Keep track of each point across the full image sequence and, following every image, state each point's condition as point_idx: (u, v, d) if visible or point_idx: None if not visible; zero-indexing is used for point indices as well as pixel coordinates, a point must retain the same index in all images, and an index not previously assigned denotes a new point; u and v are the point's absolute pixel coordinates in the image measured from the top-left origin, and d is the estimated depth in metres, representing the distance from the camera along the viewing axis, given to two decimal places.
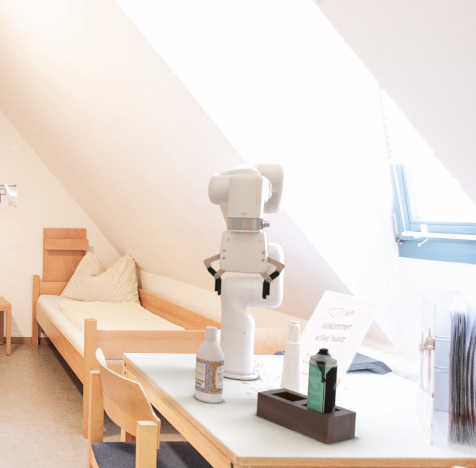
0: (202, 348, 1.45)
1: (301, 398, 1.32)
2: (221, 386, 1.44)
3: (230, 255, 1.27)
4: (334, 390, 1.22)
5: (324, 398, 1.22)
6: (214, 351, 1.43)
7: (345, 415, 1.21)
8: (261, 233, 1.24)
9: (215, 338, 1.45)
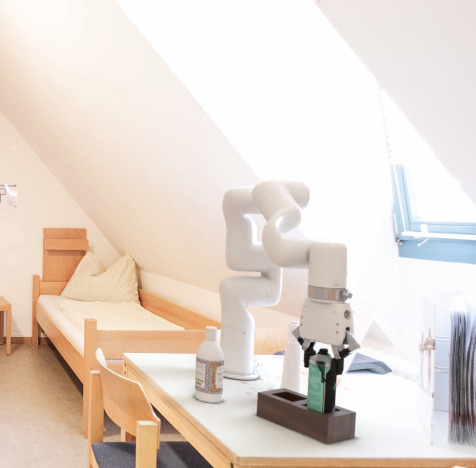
0: (202, 348, 1.45)
1: (301, 398, 1.32)
2: (221, 386, 1.44)
3: (307, 323, 1.26)
4: (334, 390, 1.22)
5: (324, 398, 1.22)
6: (214, 351, 1.43)
7: (345, 415, 1.21)
8: (336, 304, 1.20)
9: (215, 338, 1.45)
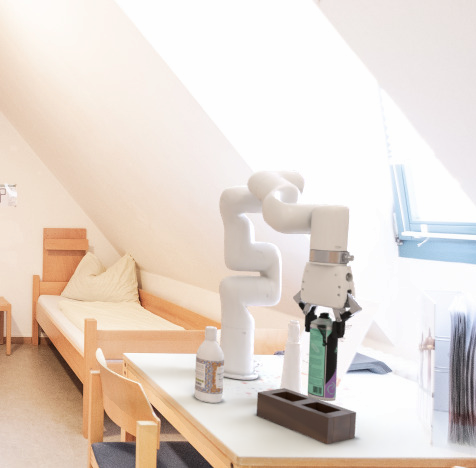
0: (202, 348, 1.45)
1: (301, 398, 1.32)
2: (221, 386, 1.44)
3: (308, 287, 1.26)
4: (335, 353, 1.22)
5: (325, 361, 1.22)
6: (214, 351, 1.43)
7: (345, 415, 1.21)
8: (338, 267, 1.20)
9: (215, 338, 1.45)
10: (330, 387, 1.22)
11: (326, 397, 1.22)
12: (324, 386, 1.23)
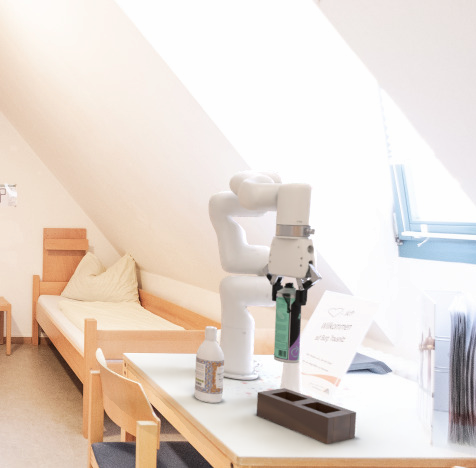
0: (202, 348, 1.45)
1: (301, 398, 1.32)
2: (221, 386, 1.44)
3: (274, 259, 1.36)
4: (299, 320, 1.33)
5: (289, 327, 1.33)
6: (214, 351, 1.43)
7: (345, 415, 1.21)
8: (300, 240, 1.30)
9: (215, 338, 1.45)
10: (293, 350, 1.33)
11: (290, 360, 1.33)
12: (288, 350, 1.33)
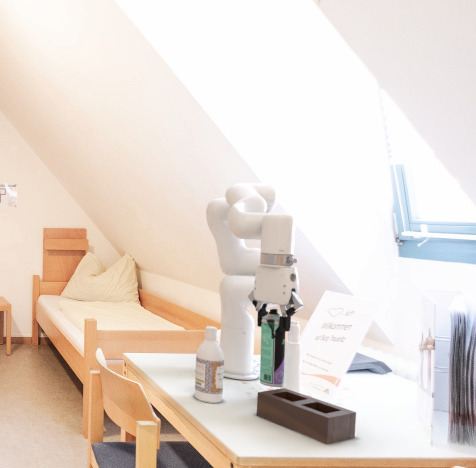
0: (202, 348, 1.45)
1: (301, 398, 1.32)
2: (221, 386, 1.44)
3: (259, 286, 1.42)
4: (283, 345, 1.38)
5: (274, 352, 1.38)
6: (214, 351, 1.43)
7: (345, 415, 1.21)
8: (283, 268, 1.36)
9: (215, 338, 1.45)
10: (278, 375, 1.38)
11: (275, 384, 1.38)
12: (273, 374, 1.38)
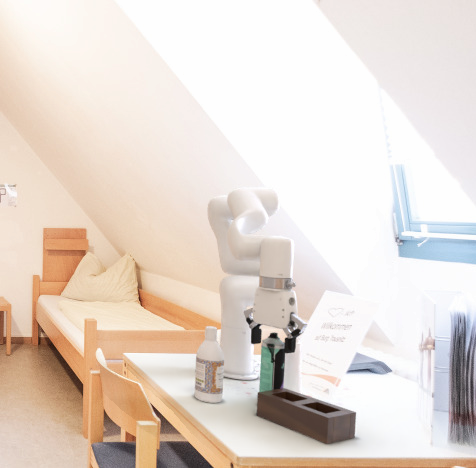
0: (202, 348, 1.45)
1: (301, 398, 1.32)
2: (221, 386, 1.44)
3: (258, 309, 1.42)
4: (282, 369, 1.38)
5: (273, 376, 1.38)
6: (214, 351, 1.43)
7: (345, 415, 1.21)
8: (282, 292, 1.36)
9: (215, 338, 1.45)
10: None
11: None
12: None
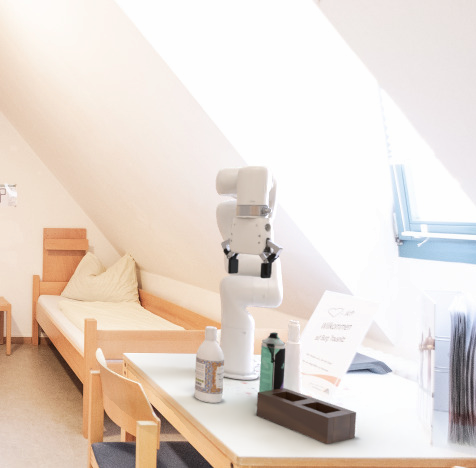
0: (202, 348, 1.45)
1: (301, 398, 1.32)
2: (221, 386, 1.44)
3: (235, 238, 1.45)
4: (282, 369, 1.38)
5: (273, 376, 1.38)
6: (214, 351, 1.43)
7: (345, 415, 1.21)
8: (258, 218, 1.39)
9: (215, 338, 1.45)
10: None
11: None
12: None
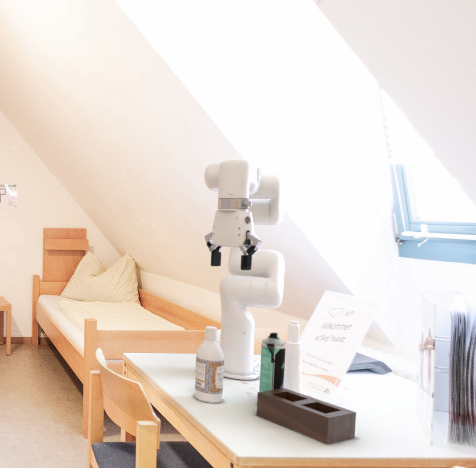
0: (202, 348, 1.45)
1: (301, 398, 1.32)
2: (221, 386, 1.44)
3: (217, 231, 1.47)
4: (282, 369, 1.38)
5: (273, 376, 1.38)
6: (214, 351, 1.43)
7: (345, 415, 1.21)
8: (238, 211, 1.41)
9: (215, 338, 1.45)
10: None
11: None
12: None
